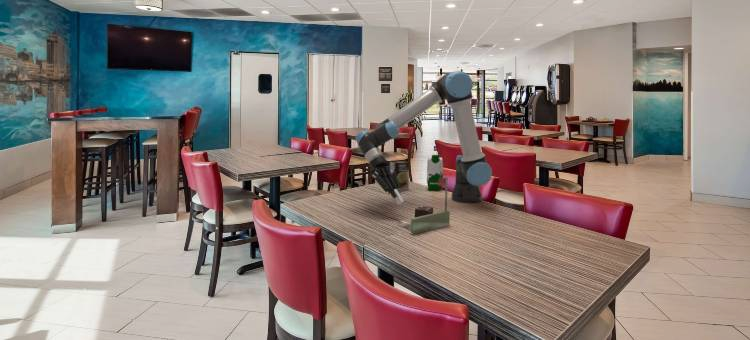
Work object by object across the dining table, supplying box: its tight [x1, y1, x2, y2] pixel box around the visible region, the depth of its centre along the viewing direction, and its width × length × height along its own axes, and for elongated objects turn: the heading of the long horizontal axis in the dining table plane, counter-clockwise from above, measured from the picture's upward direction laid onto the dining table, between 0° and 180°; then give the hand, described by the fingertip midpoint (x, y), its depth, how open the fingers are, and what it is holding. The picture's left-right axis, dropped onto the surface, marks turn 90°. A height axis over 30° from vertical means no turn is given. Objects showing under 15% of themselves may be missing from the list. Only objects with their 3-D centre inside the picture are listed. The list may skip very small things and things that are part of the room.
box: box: [414, 205, 434, 218], centre depth 178 cm, size 6×6×7 cm
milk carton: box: [426, 154, 444, 192], centre depth 245 cm, size 9×9×20 cm
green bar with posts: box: [398, 176, 451, 235], centre depth 176 cm, size 13×20×20 cm, turn 128°
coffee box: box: [389, 160, 410, 192], centre depth 244 cm, size 9×6×16 cm
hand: (401, 203), depth 187 cm, fingers closed
